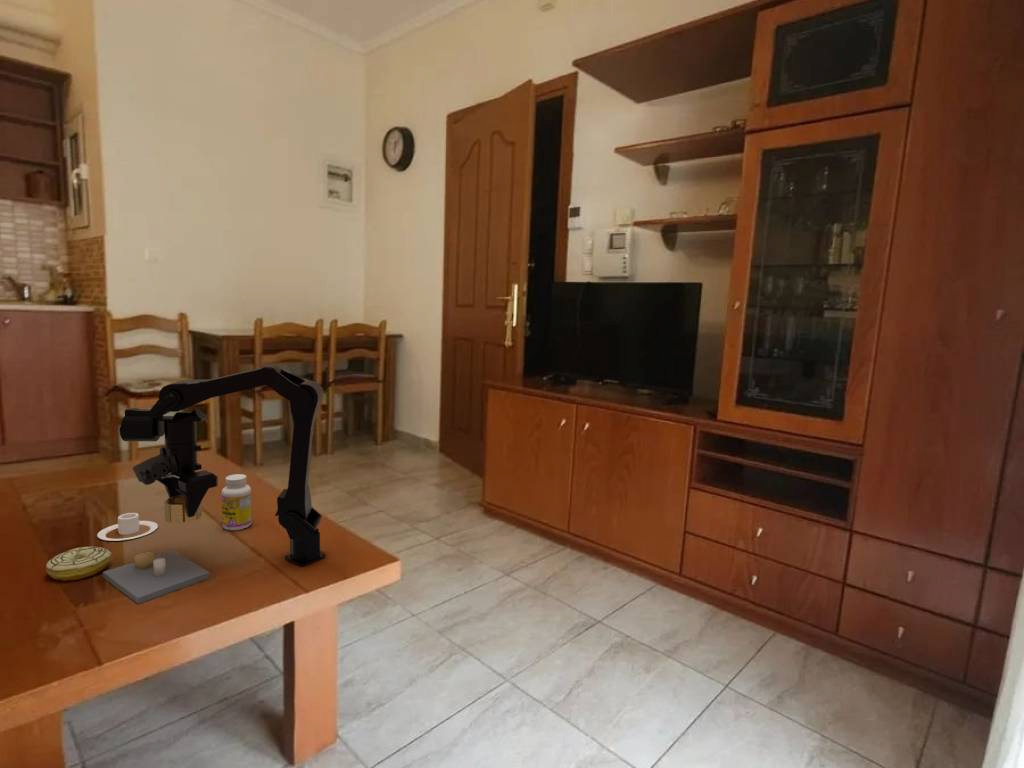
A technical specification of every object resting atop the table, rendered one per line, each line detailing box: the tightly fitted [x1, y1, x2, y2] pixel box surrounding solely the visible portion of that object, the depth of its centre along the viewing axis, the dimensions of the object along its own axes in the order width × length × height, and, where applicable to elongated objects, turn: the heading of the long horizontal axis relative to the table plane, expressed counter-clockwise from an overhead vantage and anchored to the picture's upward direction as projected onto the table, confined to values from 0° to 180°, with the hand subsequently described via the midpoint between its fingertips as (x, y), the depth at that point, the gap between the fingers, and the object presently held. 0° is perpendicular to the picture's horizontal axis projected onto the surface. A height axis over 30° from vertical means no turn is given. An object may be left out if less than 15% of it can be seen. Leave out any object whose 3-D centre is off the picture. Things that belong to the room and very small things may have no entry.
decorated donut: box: [45, 546, 112, 582], centre depth 114 cm, size 10×11×4 cm
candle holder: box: [96, 512, 159, 542], centre depth 133 cm, size 12×12×4 cm
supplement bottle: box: [221, 473, 253, 531], centre depth 138 cm, size 7×7×13 cm
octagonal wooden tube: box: [163, 495, 203, 524], centre depth 117 cm, size 6×6×4 cm
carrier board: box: [102, 550, 211, 605], centre depth 112 cm, size 16×13×4 cm
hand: (183, 512), depth 118 cm, fingers closed on octagonal wooden tube, 6 cm apart
